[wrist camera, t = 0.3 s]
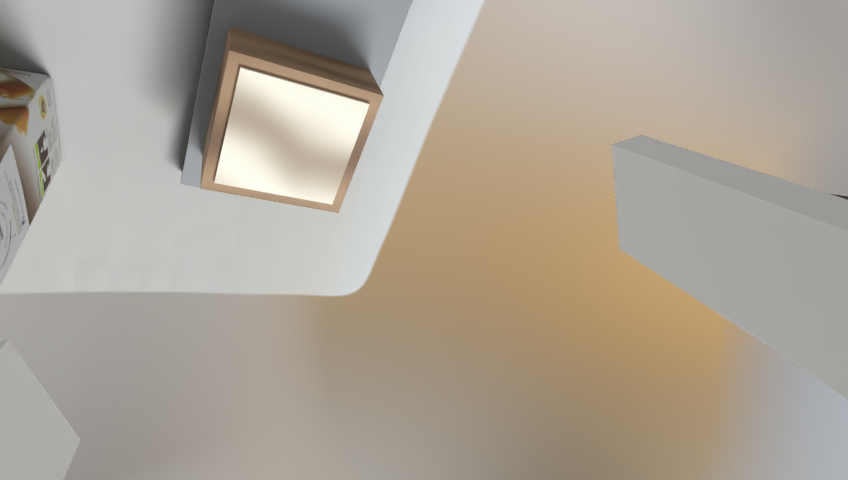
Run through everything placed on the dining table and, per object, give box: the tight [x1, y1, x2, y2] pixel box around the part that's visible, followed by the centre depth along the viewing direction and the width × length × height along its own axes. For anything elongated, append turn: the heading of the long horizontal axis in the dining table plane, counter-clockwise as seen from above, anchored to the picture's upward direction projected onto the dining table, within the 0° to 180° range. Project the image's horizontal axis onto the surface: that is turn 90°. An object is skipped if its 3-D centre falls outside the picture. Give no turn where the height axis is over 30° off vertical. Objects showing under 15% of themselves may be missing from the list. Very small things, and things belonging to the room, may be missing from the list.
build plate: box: [181, 0, 412, 187], centre depth 34 cm, size 22×11×2 cm, turn 156°
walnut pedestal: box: [200, 26, 383, 213], centre depth 34 cm, size 9×9×4 cm
